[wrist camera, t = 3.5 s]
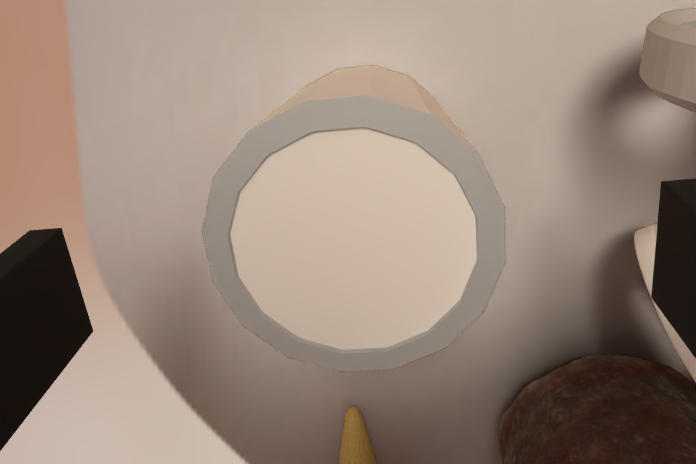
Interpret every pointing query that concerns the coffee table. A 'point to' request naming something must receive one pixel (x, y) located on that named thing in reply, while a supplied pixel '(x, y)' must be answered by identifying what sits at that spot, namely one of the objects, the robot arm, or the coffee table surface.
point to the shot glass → (356, 225)
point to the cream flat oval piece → (646, 256)
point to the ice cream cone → (355, 440)
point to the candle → (602, 415)
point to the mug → (671, 57)
